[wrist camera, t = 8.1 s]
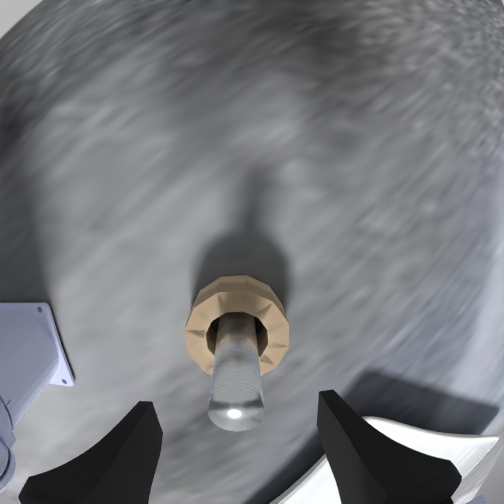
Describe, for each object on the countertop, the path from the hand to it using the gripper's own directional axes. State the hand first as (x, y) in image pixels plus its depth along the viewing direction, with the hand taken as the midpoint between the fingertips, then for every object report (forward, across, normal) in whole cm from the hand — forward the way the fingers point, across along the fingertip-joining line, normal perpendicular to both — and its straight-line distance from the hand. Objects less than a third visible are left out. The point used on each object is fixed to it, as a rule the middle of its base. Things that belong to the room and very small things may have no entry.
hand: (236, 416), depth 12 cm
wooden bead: (+10, 0, 0) cm, 10 cm away
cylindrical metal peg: (+10, 0, 0) cm, 10 cm away
